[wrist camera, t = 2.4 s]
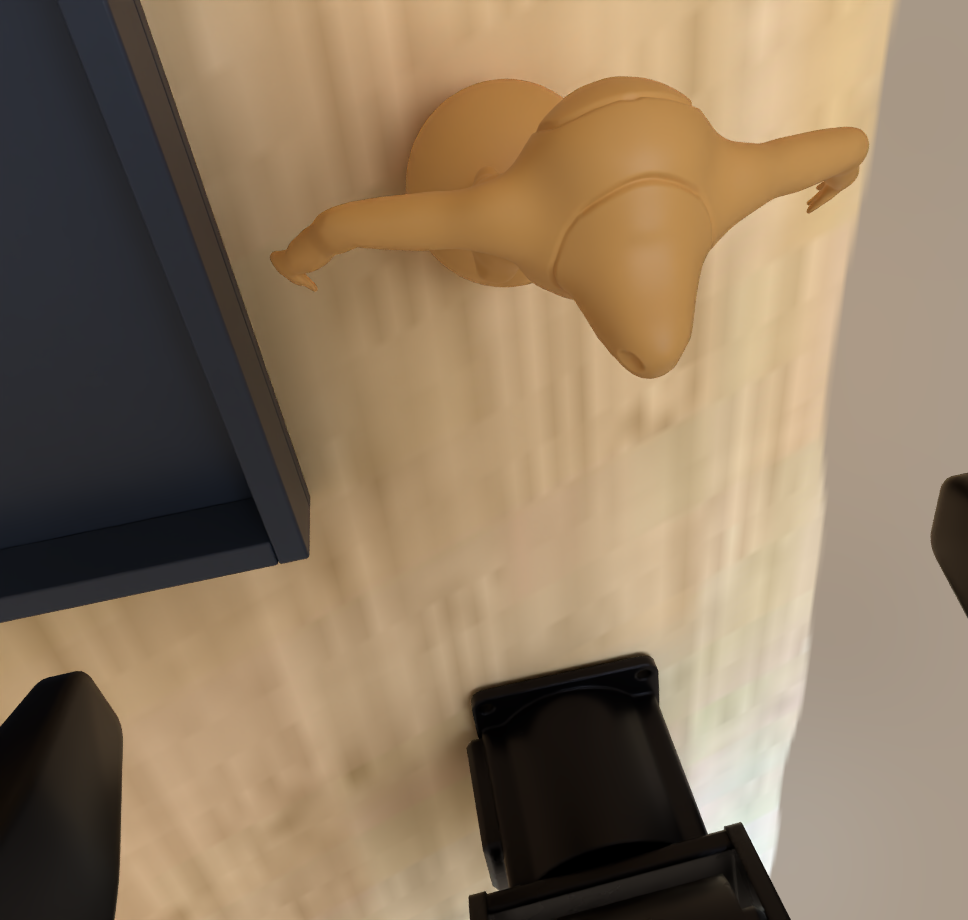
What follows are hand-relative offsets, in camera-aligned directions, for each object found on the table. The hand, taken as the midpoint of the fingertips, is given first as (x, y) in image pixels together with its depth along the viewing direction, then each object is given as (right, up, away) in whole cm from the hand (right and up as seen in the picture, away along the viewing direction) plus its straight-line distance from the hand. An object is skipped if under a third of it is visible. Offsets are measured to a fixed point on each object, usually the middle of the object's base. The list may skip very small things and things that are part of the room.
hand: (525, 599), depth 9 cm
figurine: (0, +9, +10) cm, 13 cm away
